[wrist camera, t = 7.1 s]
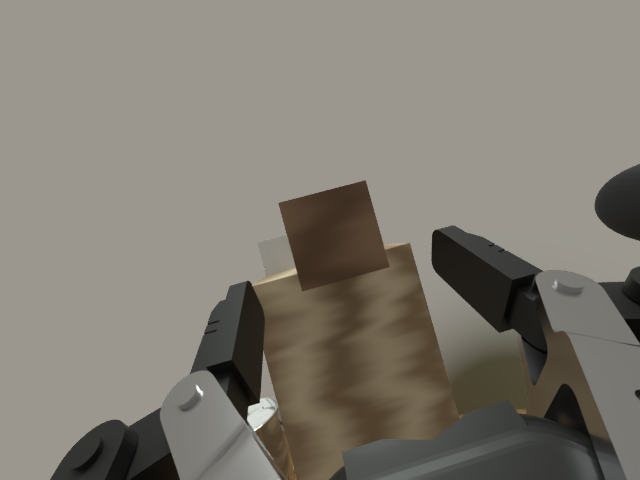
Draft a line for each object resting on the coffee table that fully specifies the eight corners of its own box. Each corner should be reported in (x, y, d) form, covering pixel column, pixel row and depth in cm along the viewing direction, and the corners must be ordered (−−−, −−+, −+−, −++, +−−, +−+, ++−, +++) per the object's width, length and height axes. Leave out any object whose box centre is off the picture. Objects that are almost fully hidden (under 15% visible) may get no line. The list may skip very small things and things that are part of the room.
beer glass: (305, 488, 34) (279, 388, 34) (313, 546, 27) (280, 420, 27) (257, 512, 32) (230, 407, 33) (253, 580, 25) (219, 446, 26)
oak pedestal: (428, 463, 32) (368, 245, 33) (518, 626, 18) (409, 242, 19) (333, 494, 32) (274, 271, 33) (351, 687, 18) (247, 287, 19)
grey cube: (301, 264, 31) (293, 236, 31) (299, 266, 27) (290, 234, 27) (272, 272, 31) (264, 243, 31) (266, 276, 27) (257, 242, 27)
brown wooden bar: (335, 254, 33) (328, 227, 33) (389, 267, 10) (365, 180, 10) (308, 261, 33) (301, 235, 33) (302, 291, 10) (278, 203, 10)
